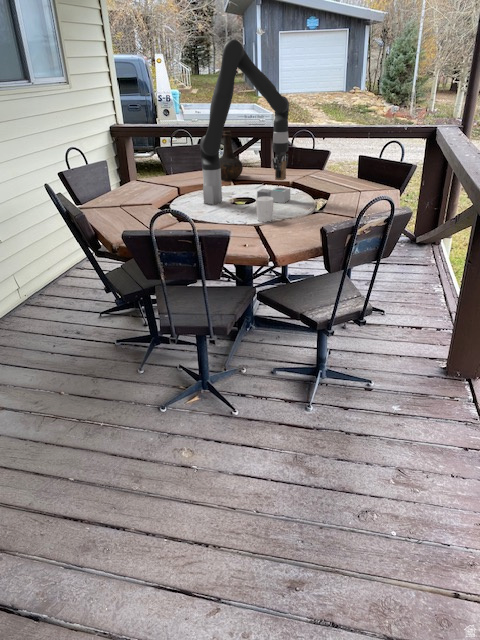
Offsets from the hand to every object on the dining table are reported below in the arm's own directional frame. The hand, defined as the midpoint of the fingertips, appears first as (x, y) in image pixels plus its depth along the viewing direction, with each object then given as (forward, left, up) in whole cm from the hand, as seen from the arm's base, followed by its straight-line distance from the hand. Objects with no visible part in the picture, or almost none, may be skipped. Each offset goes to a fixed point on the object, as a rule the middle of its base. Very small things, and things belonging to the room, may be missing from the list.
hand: (280, 176), depth 247 cm
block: (0, 0, -1) cm, 1 cm away
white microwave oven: (0, 0, -12) cm, 12 cm away
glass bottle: (+36, +53, -13) cm, 65 cm away
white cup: (-33, -8, -13) cm, 36 cm away
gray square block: (0, +9, -12) cm, 15 cm away
